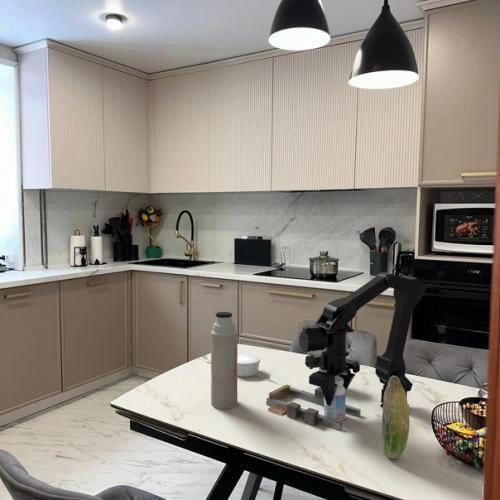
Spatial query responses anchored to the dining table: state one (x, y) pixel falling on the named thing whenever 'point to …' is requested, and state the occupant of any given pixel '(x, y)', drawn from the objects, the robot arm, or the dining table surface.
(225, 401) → the thermos bottle
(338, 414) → the pill bottle
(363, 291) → the robot arm
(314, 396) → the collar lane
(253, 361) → the ramekin
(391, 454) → the vegetable
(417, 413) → the dining table surface
